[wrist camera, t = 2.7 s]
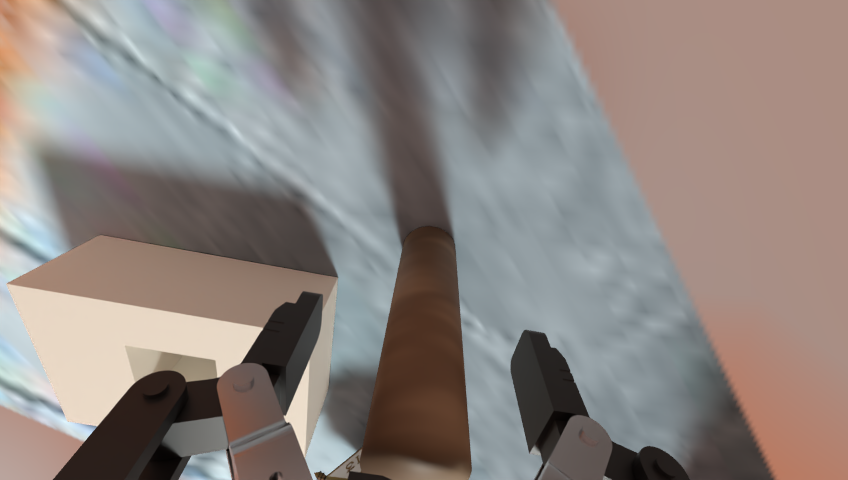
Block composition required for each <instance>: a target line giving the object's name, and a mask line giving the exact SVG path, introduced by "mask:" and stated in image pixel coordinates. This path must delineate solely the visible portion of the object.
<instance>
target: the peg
mask: <svg viewBox="0 0 848 480" xmlns="http://www.w3.org/2000/svg"><path fill="white" fill-rule="evenodd" d="M360 468H361V471H362V473H368V474H375V475H382V476H385V477H387V478H389V479H391V480H468V479H469V477H470V475H471V470H472V465H471V452H470V439H469V425H468V412H467V398H466V385H465V371H464V358H463V344H462V331H461V318H460V304H459V291H458V277H457V264H456V250H455V244H454V241H453V239H452V238H451V236H450V235H449V234H448V233H447V232H445V231H444V230H442V229H440V228H437V227H432V226H426V227H420V228H418V229H415V230H414V231H412V232H411V233H410V234H409V235H408V236H407V237H406V239H405V241H404V244H403V248H402V253H401V258H400V263H399V268H398V273H397V278H396V283H395V288H394V293H393V298H392V303H391V308H390V313H389V318H388V323H387V328H386V333H385V338H384V343H383V348H382V353H381V358H380V362H379V367H378V372H377V377H376V382H375V387H374V392H373V397H372V402H371V407H370V412H369V417H368V422H367V427H366V432H365V437H364V442H363V447H362V452H361V457H360Z"/></svg>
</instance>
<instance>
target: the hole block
mask: <svg viewBox="0 0 848 480" xmlns="http://www.w3.org/2000/svg"><path fill="white" fill-rule="evenodd" d="M6 285H7V287H8V289H9V291H10V294H11V296H12V298H13V300H14V303H15V305H16V307H17V309H18V312H19V314H20V316H21V318H22V320H23V323H24V325H25V327H26V329H27V332H28V334H29V336H30V338H31V341H32V343H33V345H34V347H35V349H36V352H37V354H38V356H39V358H40V361H41V363H42V365H43V367H44V370H45V372H46V374H47V376H48V378H49V381H50V383H51V385H52V387H53V390H54V392H55V394H56V396H57V399H58V401H59V403H60V405H61V408H62V410H63V412H64V414H65V416H66V419H67V421H68V422H75V423H81V424H88V425H94V426H98V425H99V424H100V423H101V422H102V420H103V419H104V418H105V417H106V416H107V414H108V413H109V412H110V411H111V410H112V408H113V407H114V406H115V405H116V404H117V402H118V401H119V400H120V399H121V398H122V396H123V395H124V394H125V393H126V392H127V390H128V389H129V388H130V387H131V386H132V385H133V384H134V383H135V382H137V381H138V380H139V379H141V378H143V377H145V376H146V375H149V374H151V373H154V372H158V371H165V370H171V371H176V372H179V373H180V374H182V375H183V376H184V378H185V380H186V382H190V381H198V380H207V379H214V378H218V377H221V376H222V375H223V373H225V372H226V371H227V370H228V369H230V368H232V367H234V366H236V365H239V364H240V363H241V362H242V361H243V359H244V358H245V356H246V354H247V353H248V351H249V350H250V348H251V346H252V345H253V343H254V342H255V340H256V339H257V337H258V335H259V334H260V332H261V331H262V330H263V328H264V326H265V324H266V323H267V322H268V320H269V318H270V317H271V315H272V313H273V312H274V310H275V309H277V308H278V307H279V306H281V305H282V304H284V303H285V302H290V303H296V302H297V300H298V298H299V296H300V295H301V293H302V292H303V291H306V292H312V293H318V294H323V308H322V323H321V330H320V334H319V338H318V340H317V343H316V345H315V348H314V350H313V352H312V355H311V357H310V359H309V362H308V364H307V367H306V369H305V371H304V374H303V376H302V379H301V381H300V383H299V386H298V388H297V391H296V393H295V395H294V398H293V400H292V402H291V405H290V407H289V410H288V412H287V414H286V416H284V415H283V416H284V418H285V421H286V422H287V423H288V422H290V423H291V425H292V427H293V429H294V431H295V434H296V437H297V439H298V442H299V445H300V447H301V450H302V453H303V455H304V458H305V456H306V453H307V450H308V448H309V445H310V442H311V439H312V436H313V433H314V430H315V427H316V424H317V421H318V418H319V415H320V412H321V409H322V406H323V403H324V401H325V398H326V395H327V392H328V387H329V376H330V365H331V353H332V342H333V330H334V319H335V308H336V296H337V285H338V278H337V277H332V276H326V275H321V274H315V273H309V272H304V271H298V270H293V269H287V268H282V267H276V266H270V265H265V264H259V263H254V262H248V261H243V260H237V259H231V258H226V257H220V256H215V255H209V254H204V253H198V252H193V251H187V250H181V249H176V248H170V247H165V246H159V245H154V244H148V243H142V242H137V241H131V240H126V239H120V238H115V237H109V236H103V235H99V236H97V237H95V238H93V239H91V240H89V241H87V242H85V243H83V244H82V245H80V246H78V247H76V248H74V249H72V250H70V251H68V252H66V253H64V254H62V255H60V256H58V257H57V258H55V259H53V260H51V261H49V262H47V263H45V264H43V265H41V266H39V267H37V268H35V269H34V270H32V271H30V272H28V273H26V274H24V275H22V276H20V277H18V278H16V279H14V280H12V281H10V282H9V283H7V284H6Z"/></svg>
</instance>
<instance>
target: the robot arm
mask: <svg viewBox="0 0 848 480" xmlns="http://www.w3.org/2000/svg"><path fill="white" fill-rule="evenodd" d="M322 308H323V294H318V293H312V292H306V291H303V292H302V293H301V295H300V296H299V298H298V300H297V302H296V303H290V302H285V303H284V304H282V305H281V306H279V307H278V308H277V309H275V310H274V312H273V313H272V315H271V317H270V318H269V320H268V322H267V323H266V324H265V326H264V328H263V330H262V331H261V332H260V334H259V335H258V337H257V339H256V340H255V342H254V343H253V345H252V346H251V348H250V350H249V351H248V353H247V354H246V356H245V358H244V359H243V361H242V362H241V363H240V364H239V365H236V366H234V367H232V368H230V369H228V370H227V371H226V372H225V373H223V375H222V376H221V377H218V378H214V379H207V380H198V381H190V382H186V380H185V378H184V376H183V375H182V374H180V373H179V372H176V371H171V370H165V371H158V372H154V373H151V374H149V375H146V376H145V377H143V378H141V379H139V380H138V381H137V382H135V383H134V384H133V385H132V386H131V387H130V388H129V389H128V390H127V392H126V393H125V394H124V395H123V396H122V398H121V399H120V400H119V401H118V402H117V404H116V405H115V406H114V407H113V408H112V410H111V411H110V412H109V413H108V414H107V416H106V417H105V418H104V419H103V420H102V422H101V423H100V424H99V425H98V426H97V428H96V429H95V430H94V431H93V432H92V434H91V435H90V436H89V437H88V438H87V440H86V441H85V442H84V443H83V444H82V446H81V447H80V448H79V449H78V450H77V452H76V453H75V454H74V455H73V456H72V458H71V459H70V460H69V461H68V462H67V464H66V465H65V466H64V467H63V468H62V469H61V471H60V472H59V473H58V474H57V475H56V477H55V478H54V479H53V480H178V479H179V477H180V476H181V474H182V472H183V470H184V468H185V466H186V465H187V463H188V461H189V459H190V457H191V455H197V454H202V453H208V452H213V451H219V450H226V455H227V459H228V464H229V469H230V473H231V478H232V480H313V479H312V476H311V474H310V471H309V469H308V466H307V463H306V461H305V458H304V455H303V453H302V450H301V447H300V445H299V442H298V439H297V437H296V434H295V431H294V429H293V427H292V425H291V423H290V422H288V423H287V422H286V421H285V418H284V416H286V414H287V412H288V410H289V407H290V405H291V402H292V400H293V398H294V395H295V393H296V391H297V388H298V386H299V383H300V381H301V379H302V376H303V374H304V371H305V369H306V367H307V364H308V362H309V359H310V357H311V355H312V352H313V350H314V348H315V345H316V343H317V340H318V338H319V334H320V330H321V323H322ZM511 375H512V379H513V384H514V388H515V392H516V397H517V401H518V406H519V410H520V414H521V419H522V423H523V428H524V432H525V436H526V441H527V445H528V450H529V454H534V455H541V457H542V461H543V464H542V465H541V467H540V469H539V471H538V473H537V475H536V477H535V479H534V480H690V479H689V478H688V476H687V474H686V472H685V471H684V469H683V468H682V466H681V465H680V464H679V463H678V462H677V461H676V460H675V459H674V458H673V457H672V456H670V455H669V454H668V453H666V452H665V451H663V450H661V449H659V448H656V447H651V446H647V447H644V448H642V449H641V451H640V452H639V453H636V452H634V451H632V450H629V449H627V448H625V447H623V446H621V445H618V444H616V443H614V442H612V441H611V439H610V437H609V435H608V433H607V432H606V431H605V429H604V428H603V427H602V426H601V425H600V424H599V423H597V422H596V421H594V420H593V419H591V418H590V417H589V415H588V412H587V410H586V407H585V405H584V403H583V400H582V398H581V395H580V393H579V391H578V388H577V386H576V383H574V379H573V376H572V374H571V373H570V369H569V367H568V364H567V362H566V359H565V358H564V357H563V356H562V355H561V353H560V352H559V351H558V350H557V349H556V348H551V347H550V344H549V342H548V339H547V337H546V335H545V334H544V333H541V332H535V331H529V330H524V331H523V333H522V335H521V338H520V340H519V342H518V345H517V347H516V349H515V352H514V354H513V356H512V360H511ZM283 415H284V416H283ZM348 480H391V479H389V478H387V477H385V476H382V475H375V474H368V473H361V472H354V471H349V475H348Z"/></svg>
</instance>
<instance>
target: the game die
mask: <svg viewBox="0 0 848 480" xmlns="http://www.w3.org/2000/svg"><path fill="white" fill-rule="evenodd" d="M361 452H362V448H360V449H359V450H358V451H357V452H356V453H354V454H353V455H352V456H351V457H349V458H348V459H347V460H346V461H345V462H343V463H342V464H341V465H340V466H338V467H337V468H336V469H335V470H333V471H332V472H331V473H330V474H329V475H327V476H326V475H325V474H324V473H322V472H321V471H320V472H316V473H314V474H315V476H316V478H317V480H348V475H349V471H354V472H361V473H362V471H361V468H360V457H361Z"/></svg>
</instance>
